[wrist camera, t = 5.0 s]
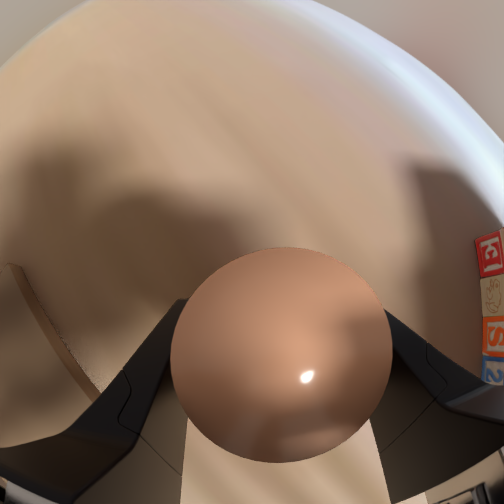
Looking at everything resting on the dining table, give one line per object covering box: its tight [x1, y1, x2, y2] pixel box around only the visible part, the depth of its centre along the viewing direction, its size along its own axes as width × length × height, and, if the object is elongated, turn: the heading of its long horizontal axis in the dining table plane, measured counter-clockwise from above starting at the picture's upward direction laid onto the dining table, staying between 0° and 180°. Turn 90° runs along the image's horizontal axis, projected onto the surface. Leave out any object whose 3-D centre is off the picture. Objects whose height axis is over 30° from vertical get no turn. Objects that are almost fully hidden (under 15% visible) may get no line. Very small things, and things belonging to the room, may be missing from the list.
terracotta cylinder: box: [170, 247, 392, 463], centre depth 11 cm, size 5×5×10 cm
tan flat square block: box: [0, 263, 101, 483], centre depth 13 cm, size 16×16×2 cm
